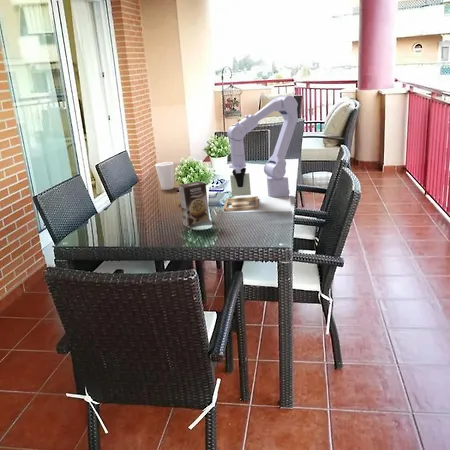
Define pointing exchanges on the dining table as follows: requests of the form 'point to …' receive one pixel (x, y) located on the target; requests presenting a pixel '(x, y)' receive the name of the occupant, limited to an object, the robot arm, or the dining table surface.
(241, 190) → the pale green slab
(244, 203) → the offcut upper
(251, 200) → the rack
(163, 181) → the foam cup
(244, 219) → the dining table surface
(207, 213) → the brown cookie box
